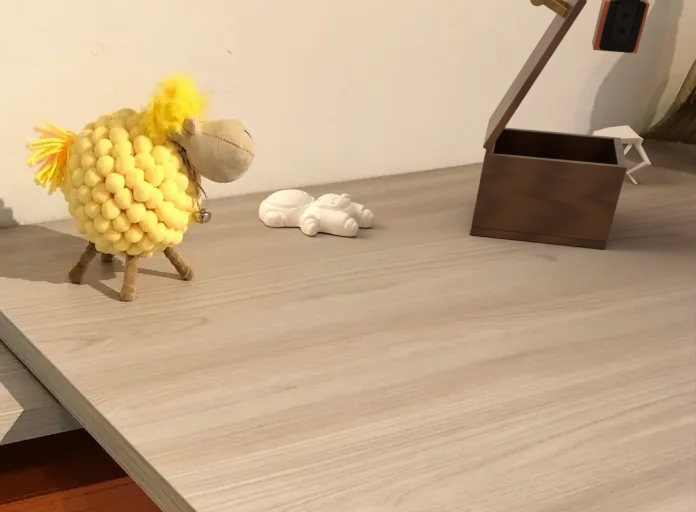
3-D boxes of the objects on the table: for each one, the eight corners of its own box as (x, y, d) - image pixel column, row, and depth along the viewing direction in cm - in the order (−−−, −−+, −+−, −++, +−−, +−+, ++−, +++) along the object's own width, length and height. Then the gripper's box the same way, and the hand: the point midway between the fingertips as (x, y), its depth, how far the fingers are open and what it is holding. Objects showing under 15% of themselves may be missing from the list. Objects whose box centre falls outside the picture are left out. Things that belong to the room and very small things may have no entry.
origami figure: (643, 192, 122) (656, 147, 119) (571, 183, 124) (581, 138, 121) (647, 168, 130) (660, 125, 127) (579, 160, 133) (590, 117, 129)
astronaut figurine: (342, 244, 104) (345, 213, 102) (243, 220, 109) (245, 190, 107) (382, 224, 110) (386, 194, 108) (286, 202, 115) (289, 173, 113)
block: (634, 46, 100) (646, -2, 98) (636, 53, 97) (649, 3, 95) (591, 43, 101) (603, -5, 98) (592, 50, 98) (604, 0, 95)
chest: (601, 214, 114) (621, 137, 110) (604, 249, 105) (627, 167, 100) (476, 201, 117) (491, 126, 112) (469, 235, 108) (484, 154, 103)
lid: (584, -16, 102) (546, -42, 102) (587, 1, 93) (545, -28, 92) (495, 123, 112) (459, 100, 111) (489, 151, 102) (450, 126, 102)
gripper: (737, -200, 80) (662, 66, 92) (712, -198, 93) (649, 36, 105) (637, -204, 82) (575, 59, 94) (626, -201, 94) (573, 30, 106)
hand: (615, 44), depth 99 cm, fingers closed on block, 4 cm apart
